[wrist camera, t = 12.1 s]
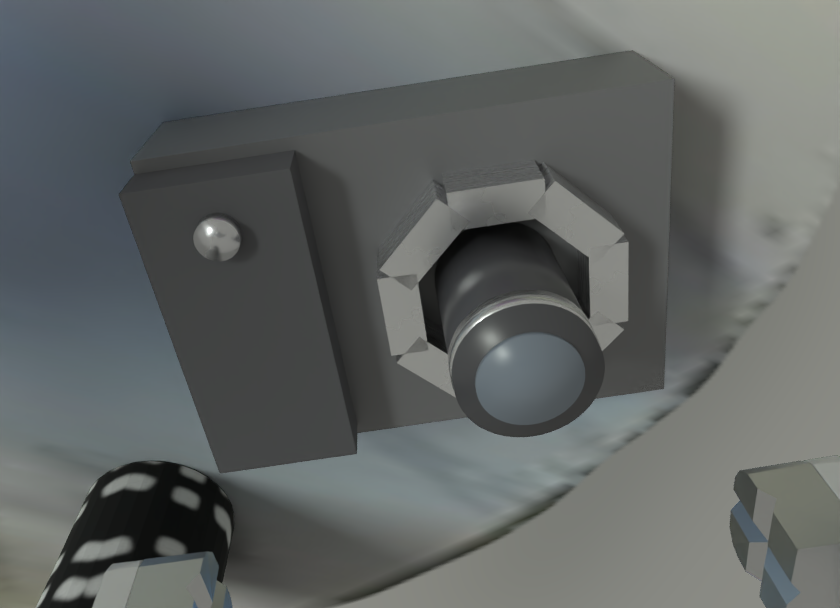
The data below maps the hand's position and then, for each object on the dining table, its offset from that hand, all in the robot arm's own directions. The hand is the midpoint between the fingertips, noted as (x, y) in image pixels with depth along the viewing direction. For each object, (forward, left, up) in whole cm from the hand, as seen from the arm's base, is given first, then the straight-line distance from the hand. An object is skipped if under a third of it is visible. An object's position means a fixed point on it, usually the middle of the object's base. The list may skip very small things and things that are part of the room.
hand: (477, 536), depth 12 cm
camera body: (0, -6, -24) cm, 24 cm away
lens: (+3, -6, -19) cm, 20 cm away
